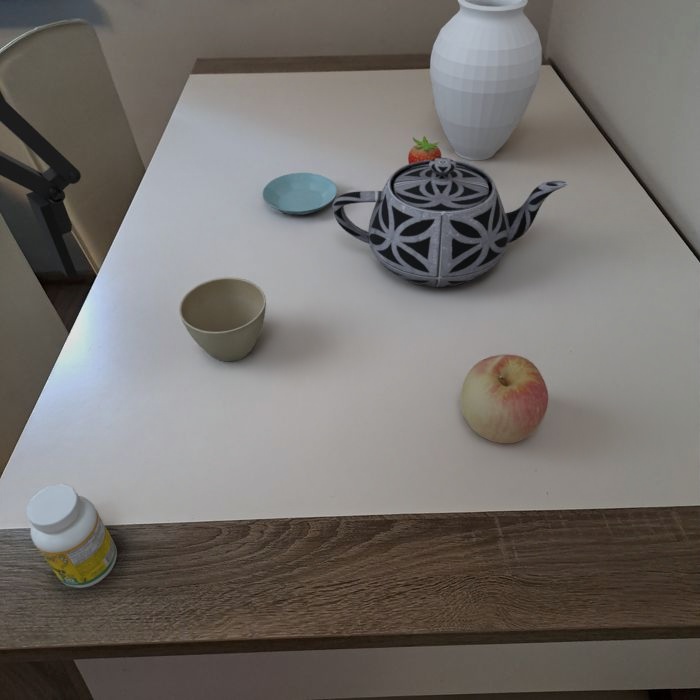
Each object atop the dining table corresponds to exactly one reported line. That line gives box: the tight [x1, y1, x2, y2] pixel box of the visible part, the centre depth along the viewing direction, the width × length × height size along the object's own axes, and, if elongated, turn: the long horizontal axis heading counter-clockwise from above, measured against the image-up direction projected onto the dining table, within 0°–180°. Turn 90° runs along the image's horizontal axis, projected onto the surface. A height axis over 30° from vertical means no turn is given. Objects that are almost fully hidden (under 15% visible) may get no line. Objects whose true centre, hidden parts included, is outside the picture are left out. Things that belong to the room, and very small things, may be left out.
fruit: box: [407, 135, 442, 164], centre depth 105 cm, size 5×5×8 cm
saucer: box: [262, 172, 338, 215], centre depth 103 cm, size 12×12×2 cm
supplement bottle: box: [26, 483, 118, 589], centre depth 56 cm, size 5×5×10 cm
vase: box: [429, 0, 543, 161], centre depth 107 cm, size 18×18×25 cm
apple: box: [460, 354, 549, 444], centre depth 67 cm, size 9×9×8 cm
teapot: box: [332, 157, 569, 288], centre depth 87 cm, size 19×31×15 cm, turn 89°
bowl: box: [178, 276, 267, 362], centre depth 77 cm, size 10×10×7 cm
